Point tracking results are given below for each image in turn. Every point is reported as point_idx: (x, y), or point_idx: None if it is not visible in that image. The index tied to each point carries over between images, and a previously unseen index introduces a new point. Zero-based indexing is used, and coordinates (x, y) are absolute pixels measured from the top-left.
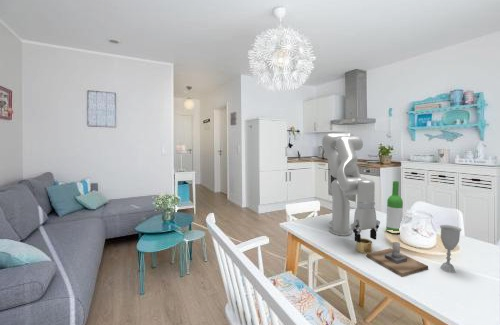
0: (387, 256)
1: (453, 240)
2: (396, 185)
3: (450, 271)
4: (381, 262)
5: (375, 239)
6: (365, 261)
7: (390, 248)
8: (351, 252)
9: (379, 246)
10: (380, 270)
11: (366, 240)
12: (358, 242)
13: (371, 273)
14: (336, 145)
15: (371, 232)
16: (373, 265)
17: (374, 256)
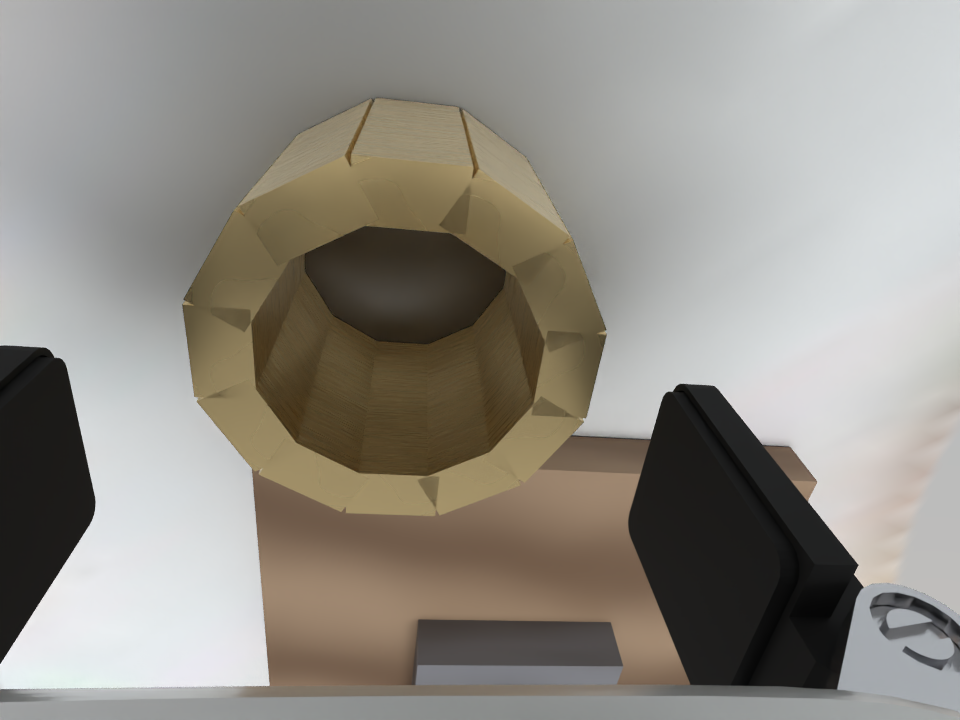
0: (415, 683)
1: None
2: None
3: None
4: (270, 658)
5: (636, 533)
6: (132, 507)
7: (804, 488)
8: (88, 189)
9: (855, 257)
10: (168, 678)
11: (537, 318)
12: (192, 333)
13: (8, 685)
14: None
15: (729, 555)
16: (169, 599)
17: (299, 561)
